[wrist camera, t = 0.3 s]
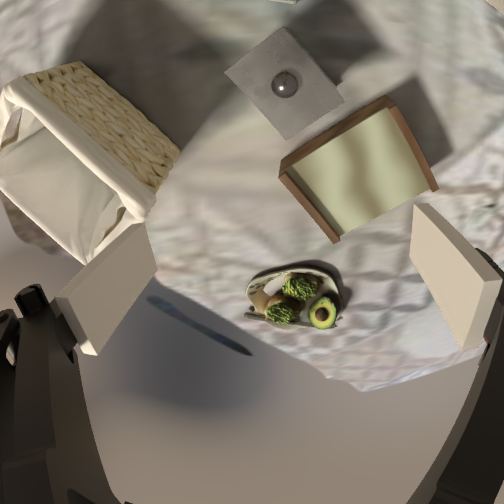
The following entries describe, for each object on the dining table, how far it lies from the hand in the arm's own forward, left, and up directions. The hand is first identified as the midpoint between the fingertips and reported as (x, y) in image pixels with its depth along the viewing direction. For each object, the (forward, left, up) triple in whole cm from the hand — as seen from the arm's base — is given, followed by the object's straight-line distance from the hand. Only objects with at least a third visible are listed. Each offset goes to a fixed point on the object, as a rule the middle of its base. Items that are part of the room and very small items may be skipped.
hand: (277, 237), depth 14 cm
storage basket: (+23, -14, -26) cm, 38 cm away
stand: (-2, +11, -26) cm, 28 cm away
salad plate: (+20, +29, -26) cm, 44 cm away
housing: (-2, -3, -26) cm, 26 cm away
